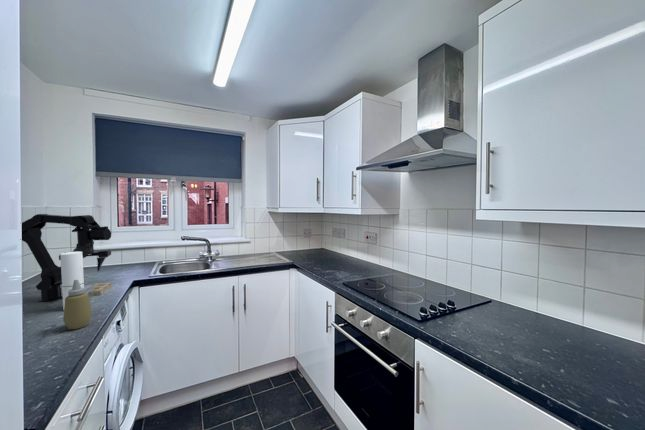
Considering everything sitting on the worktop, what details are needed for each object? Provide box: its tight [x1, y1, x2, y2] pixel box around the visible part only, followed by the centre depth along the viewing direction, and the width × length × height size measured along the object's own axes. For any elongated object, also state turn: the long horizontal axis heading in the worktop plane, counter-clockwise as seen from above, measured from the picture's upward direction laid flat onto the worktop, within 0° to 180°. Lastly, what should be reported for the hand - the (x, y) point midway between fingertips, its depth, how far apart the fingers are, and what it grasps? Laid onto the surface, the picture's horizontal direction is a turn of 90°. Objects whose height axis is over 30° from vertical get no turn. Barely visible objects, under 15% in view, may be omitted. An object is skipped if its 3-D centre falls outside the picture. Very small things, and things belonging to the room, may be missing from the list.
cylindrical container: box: [59, 251, 85, 311], centre depth 119 cm, size 7×7×25 cm
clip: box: [84, 284, 95, 299], centre depth 130 cm, size 8×3×6 cm, turn 19°
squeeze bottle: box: [63, 280, 93, 330], centre depth 101 cm, size 8×8×18 cm
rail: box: [93, 281, 113, 296], centre depth 142 cm, size 14×7×2 cm, turn 19°
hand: (87, 271), depth 131 cm, fingers open, 9 cm apart
